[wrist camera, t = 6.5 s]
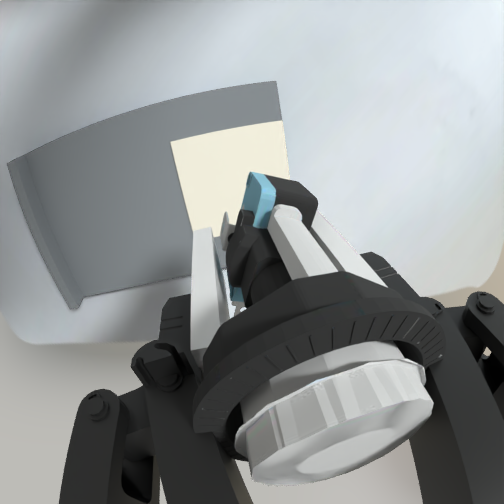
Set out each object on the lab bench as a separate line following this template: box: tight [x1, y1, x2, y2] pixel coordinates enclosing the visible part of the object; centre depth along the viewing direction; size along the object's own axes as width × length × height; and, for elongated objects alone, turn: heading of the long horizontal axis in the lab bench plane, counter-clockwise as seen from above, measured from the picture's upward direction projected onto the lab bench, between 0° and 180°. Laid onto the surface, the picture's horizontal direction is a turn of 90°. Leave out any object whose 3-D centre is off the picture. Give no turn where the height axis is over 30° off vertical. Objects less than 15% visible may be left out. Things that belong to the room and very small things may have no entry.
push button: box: [192, 172, 446, 486], centre depth 9 cm, size 7×5×10 cm
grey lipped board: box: [7, 81, 290, 309], centre depth 21 cm, size 14×21×3 cm, turn 99°
